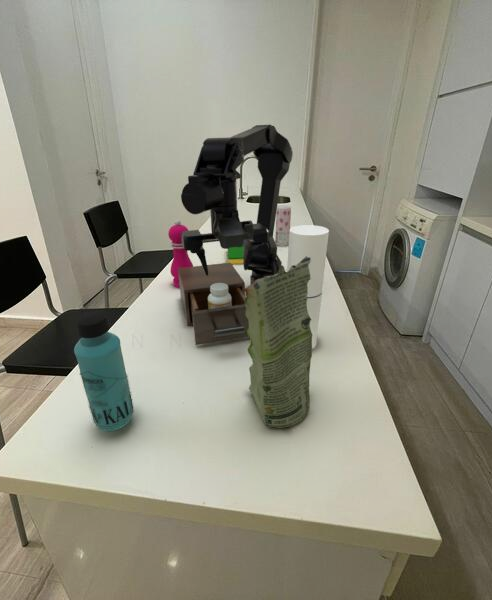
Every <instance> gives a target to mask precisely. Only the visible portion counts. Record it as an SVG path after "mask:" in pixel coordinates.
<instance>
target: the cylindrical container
mask: <svg viewBox="0 0 492 600" xmlns="http://www.w3.org/2000/svg"><path fill="white" fill-rule="evenodd" d="M329 235H330V230H329V228H327V227H325V226H322V225H316V224H315V225H314V224H302V225H299V224H298V225H294V226H292V227H290V230H289V244H288V246H287V247H288V249H287V266H286V272H288V271H289V269H290V268H291V266H293V265H297V264H298V263H299V262H300V261H301V260H302V259H304V258H305V257H306V256H307V257H308V258H309V257H310V258H311V261H310V263H309V266H308V267H309V271H310V280H309V281H308V284H307V287H308V291H307V292H308V294H307V311H308V314H309V316H310V318H311V321H310V329H311V333H312V350H313V349H315V348H316V346H317V340H318V331H319V322H320V313H321V306H322V305H321V303H322V298H323V297H322V296H323V295H322V294H323V285H324V279H325V269H326V260H327V251H328V242H329Z"/></svg>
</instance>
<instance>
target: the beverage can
mask: <svg viewBox="0 0 492 600" xmlns="http://www.w3.org/2000/svg"><path fill="white" fill-rule="evenodd" d="M291 216H292V207H291V205H277V211H276V218H275V236H274V237H275V238H274V241H275V243H276V245H277V246H278V247H279V246H280V247H285V246H289V230H290V228H291V218H292V217H291Z"/></svg>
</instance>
